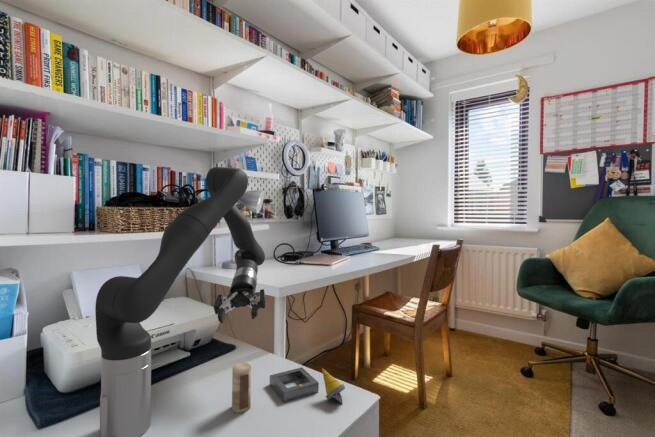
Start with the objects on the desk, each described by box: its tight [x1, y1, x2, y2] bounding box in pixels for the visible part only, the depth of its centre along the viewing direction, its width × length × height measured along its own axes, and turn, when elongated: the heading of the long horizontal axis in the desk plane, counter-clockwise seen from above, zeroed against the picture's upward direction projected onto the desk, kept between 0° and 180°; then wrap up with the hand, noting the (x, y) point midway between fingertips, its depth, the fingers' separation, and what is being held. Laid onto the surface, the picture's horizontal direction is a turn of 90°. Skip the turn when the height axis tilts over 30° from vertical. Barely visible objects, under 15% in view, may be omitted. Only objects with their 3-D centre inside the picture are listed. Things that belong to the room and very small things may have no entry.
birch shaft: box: [231, 362, 252, 414], centre depth 80 cm, size 4×4×10 cm
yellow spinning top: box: [321, 367, 346, 405], centre depth 85 cm, size 5×5×10 cm
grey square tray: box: [269, 367, 320, 403], centre depth 90 cm, size 10×10×3 cm
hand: (237, 318), depth 89 cm, fingers open, 8 cm apart
